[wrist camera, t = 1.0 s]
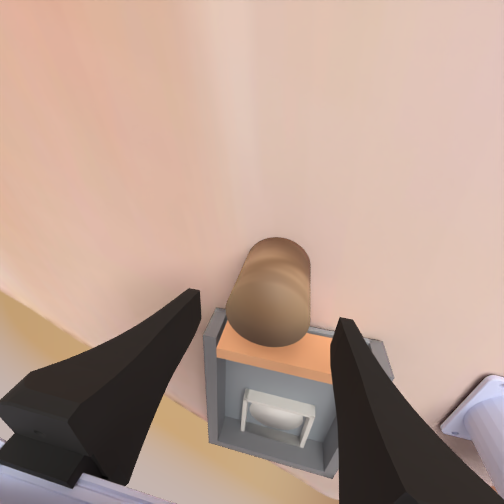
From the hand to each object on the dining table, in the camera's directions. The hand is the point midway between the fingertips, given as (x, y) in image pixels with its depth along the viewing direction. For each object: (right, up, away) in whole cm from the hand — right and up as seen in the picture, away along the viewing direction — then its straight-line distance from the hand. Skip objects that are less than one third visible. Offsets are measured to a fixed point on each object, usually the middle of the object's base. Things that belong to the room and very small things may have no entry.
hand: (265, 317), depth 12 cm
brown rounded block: (+1, +2, +4) cm, 5 cm away
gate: (+3, -3, +6) cm, 7 cm away
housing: (+2, -10, +11) cm, 15 cm away
